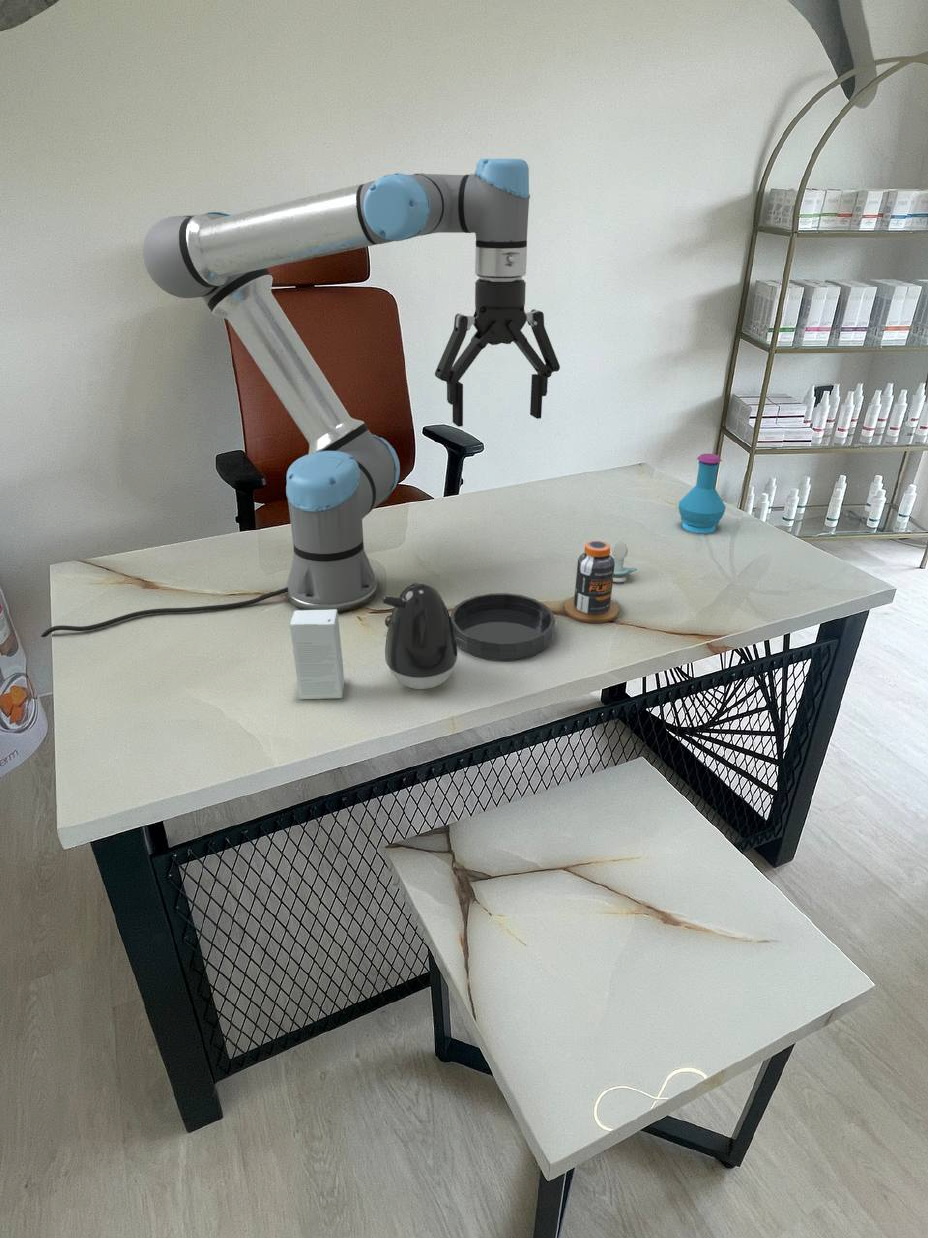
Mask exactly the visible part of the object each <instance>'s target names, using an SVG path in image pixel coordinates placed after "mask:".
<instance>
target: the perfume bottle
mask: <svg viewBox="0 0 928 1238" xmlns="http://www.w3.org/2000/svg"><path fill="white" fill-rule="evenodd" d="M696 459H697V460H698V470H697V477H696V481H695V482H696V483H695V486H693V488H692V489H690V491H689V492H687V494H686V495H685V496H683V498H681V499H680V500H679V502H678V511H679V515H680V520H681V521H682V523H681V525H682V528H683V530H686V531H688V532H690V533H695V534H710V533H714V532H715V531H716V529H717V527H716V526H717V525H718V524H719V523H720V521H721V519H722V518H723V516H724V515H725V512H726V505H725V503H724V501H723V500H722V497H721V496H720V494H719V493H718V491H717V489H716V487H715V485H716V479H717V473H718V468H719V465H720V463H721V462H722V459H721V457H720V456H719V455H718V454H716V453H715V454H714V453H702V454H700V455H699V456H698V457H697V458H696Z"/></svg>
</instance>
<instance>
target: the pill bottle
mask: <svg viewBox="0 0 928 1238" xmlns="http://www.w3.org/2000/svg"><path fill="white" fill-rule="evenodd" d="M583 551H584V552H583V553H581V554H580V555H579V557H578V559H577V564H576V565H577V566H576V576H575V589H574V596H575V597H574V596H573V597H574V606H575V608H576V609H577V610H579V611H581V612H583V613H587V614H601V613H604V612H606V611H608V609H609V608H610V601H611V600H612V590H613V583H614V582H613V575H614V565H615V562H614V559H613V558H614V557H613V555H612V556H611V545H610V543H608V542H606V541H602V540H594V539H593V540H589V541H586V542H585V544H584V549H583ZM612 557H613V558H612Z"/></svg>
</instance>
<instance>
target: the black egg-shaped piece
mask: <svg viewBox="0 0 928 1238" xmlns="http://www.w3.org/2000/svg"><path fill="white" fill-rule="evenodd" d="M381 602H382V604H384V605H387V606H391V607H393V609H392V613H391V614H390V615H391V618H390V622H389V626H388V627H387V630H386V638H385V645H384V646H385V647H384V660H385V663H386V665H387V667H388V668H389V671H390V672H391V674H392V676H393V677H394V679H395V680H396V681H397V682H398V683H399V684H401V685H402V686H405V687H407V688H408V689H409V688H410V689H412V690H413V689H414V690H428V689H432V688H435V687H437V686H440V685H441V684H443V683H445V681H447V679H448V678H449V677H450V676H451V674H452V672H453V670H454V667H455V665H456V663H457V660H458V647H457V644H456V638H455V632H454V628H453V624H452V621H451V618H450V613H449V611H448V608H447V605H446V604H445V601H444V599H443V597H442V596H441V595H440V593H439V592H438V590H437V588H435V587H434V586H432V585H431V584H429V583H427V582H413V583H411V584H409V585H407V586H405V588H404V589H403V590H402V592H401V593H400V595H399V596H390V595H384V596H383V597H382V599H381Z"/></svg>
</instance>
